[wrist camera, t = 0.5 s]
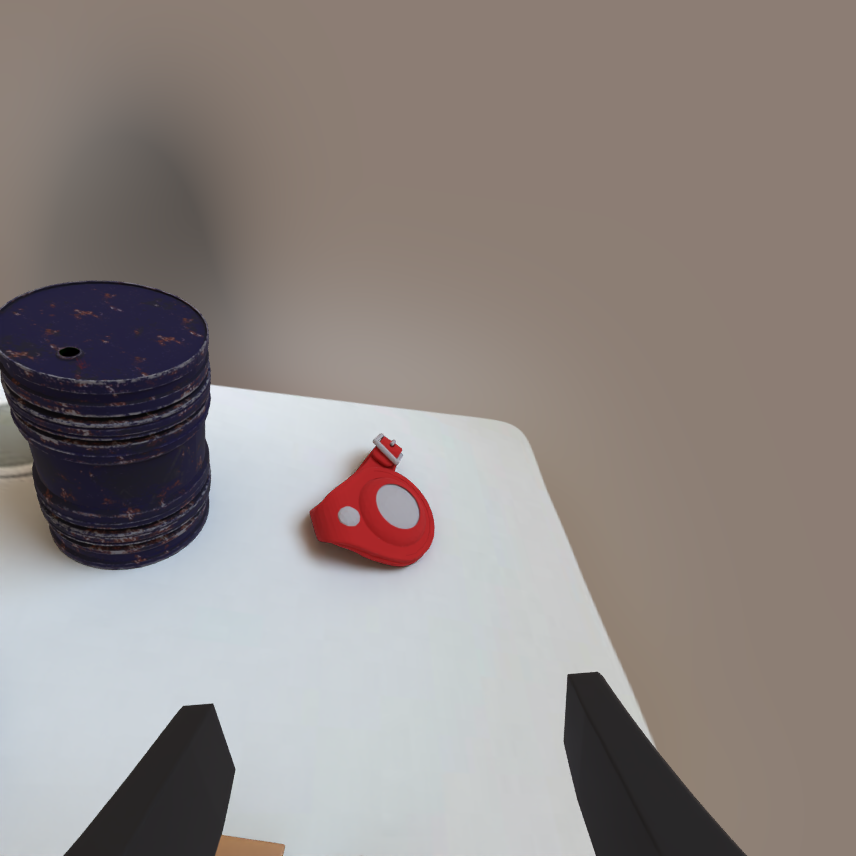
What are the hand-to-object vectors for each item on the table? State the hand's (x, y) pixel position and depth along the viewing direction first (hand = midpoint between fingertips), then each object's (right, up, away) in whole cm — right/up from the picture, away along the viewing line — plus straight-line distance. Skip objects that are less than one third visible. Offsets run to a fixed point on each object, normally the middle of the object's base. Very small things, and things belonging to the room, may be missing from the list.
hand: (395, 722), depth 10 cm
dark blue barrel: (-20, 0, +25) cm, 32 cm away
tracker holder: (-3, -1, +31) cm, 31 cm away
